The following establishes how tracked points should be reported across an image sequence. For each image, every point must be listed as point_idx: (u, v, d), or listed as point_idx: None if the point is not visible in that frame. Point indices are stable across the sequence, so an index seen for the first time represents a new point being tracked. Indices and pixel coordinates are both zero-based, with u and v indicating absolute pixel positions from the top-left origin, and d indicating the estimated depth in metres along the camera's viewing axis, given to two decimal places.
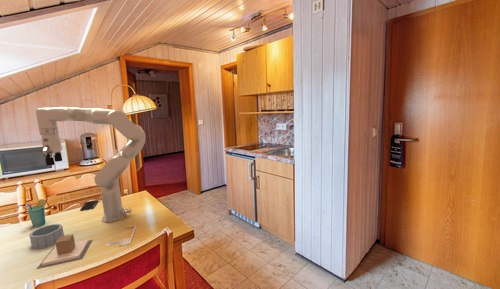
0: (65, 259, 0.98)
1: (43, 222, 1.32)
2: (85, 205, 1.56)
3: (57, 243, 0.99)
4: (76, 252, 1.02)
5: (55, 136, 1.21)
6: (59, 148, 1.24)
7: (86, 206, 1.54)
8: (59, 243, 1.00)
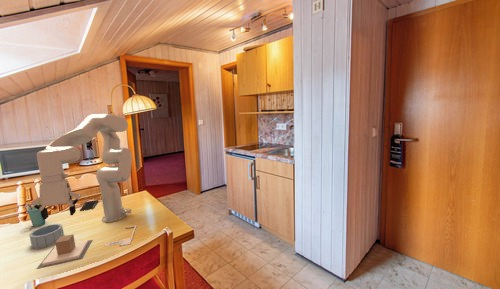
0: (65, 259, 0.98)
1: (43, 222, 1.32)
2: (85, 205, 1.56)
3: (57, 243, 0.99)
4: (76, 252, 1.02)
5: None
6: None
7: (86, 206, 1.54)
8: (59, 243, 1.00)
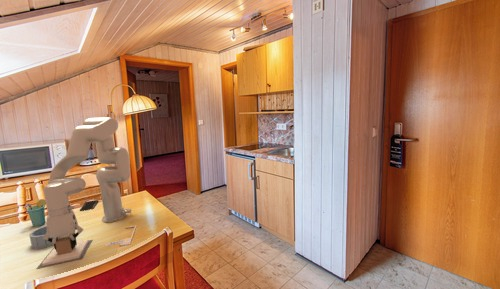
0: (65, 259, 0.98)
1: (43, 222, 1.32)
2: (85, 205, 1.56)
3: (57, 243, 0.99)
4: (76, 252, 1.02)
5: None
6: None
7: (86, 206, 1.54)
8: (59, 243, 1.00)
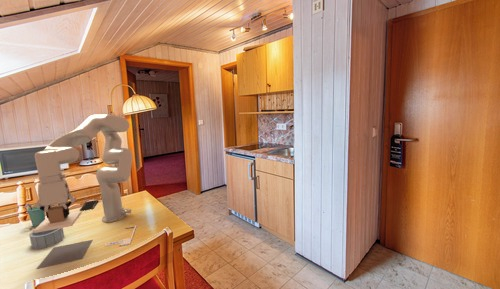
0: (58, 227, 0.97)
1: None
2: (85, 205, 1.56)
3: (49, 211, 0.98)
4: (69, 221, 1.01)
5: None
6: None
7: (86, 206, 1.54)
8: (51, 211, 0.99)
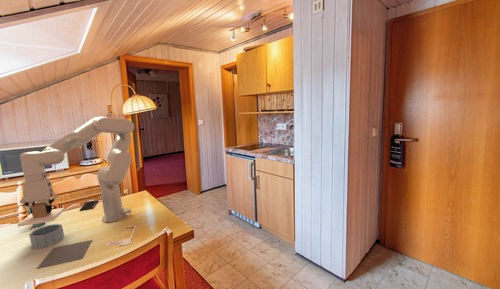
0: (40, 221, 1.06)
1: None
2: (85, 205, 1.56)
3: (33, 207, 1.08)
4: (51, 216, 1.10)
5: None
6: None
7: (86, 206, 1.54)
8: (35, 207, 1.08)
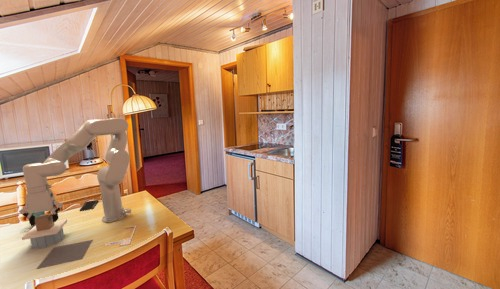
0: (43, 234, 1.07)
1: None
2: (85, 205, 1.56)
3: (36, 220, 1.09)
4: (54, 229, 1.11)
5: None
6: None
7: (86, 206, 1.54)
8: (38, 220, 1.09)
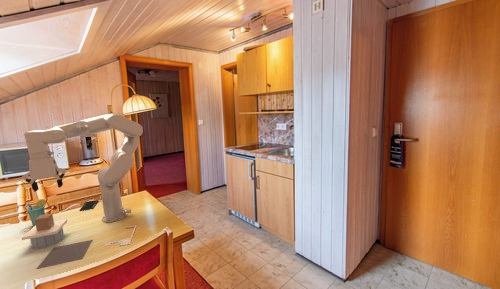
0: (43, 234, 1.07)
1: None
2: (85, 205, 1.56)
3: (36, 220, 1.09)
4: (54, 229, 1.11)
5: None
6: None
7: (86, 206, 1.54)
8: (38, 220, 1.09)
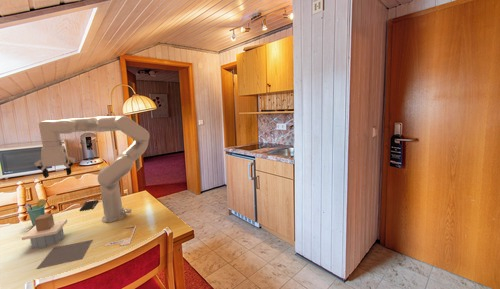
0: (43, 234, 1.07)
1: None
2: (85, 205, 1.56)
3: (36, 220, 1.09)
4: (54, 229, 1.11)
5: None
6: None
7: (85, 206, 1.54)
8: (38, 220, 1.09)
